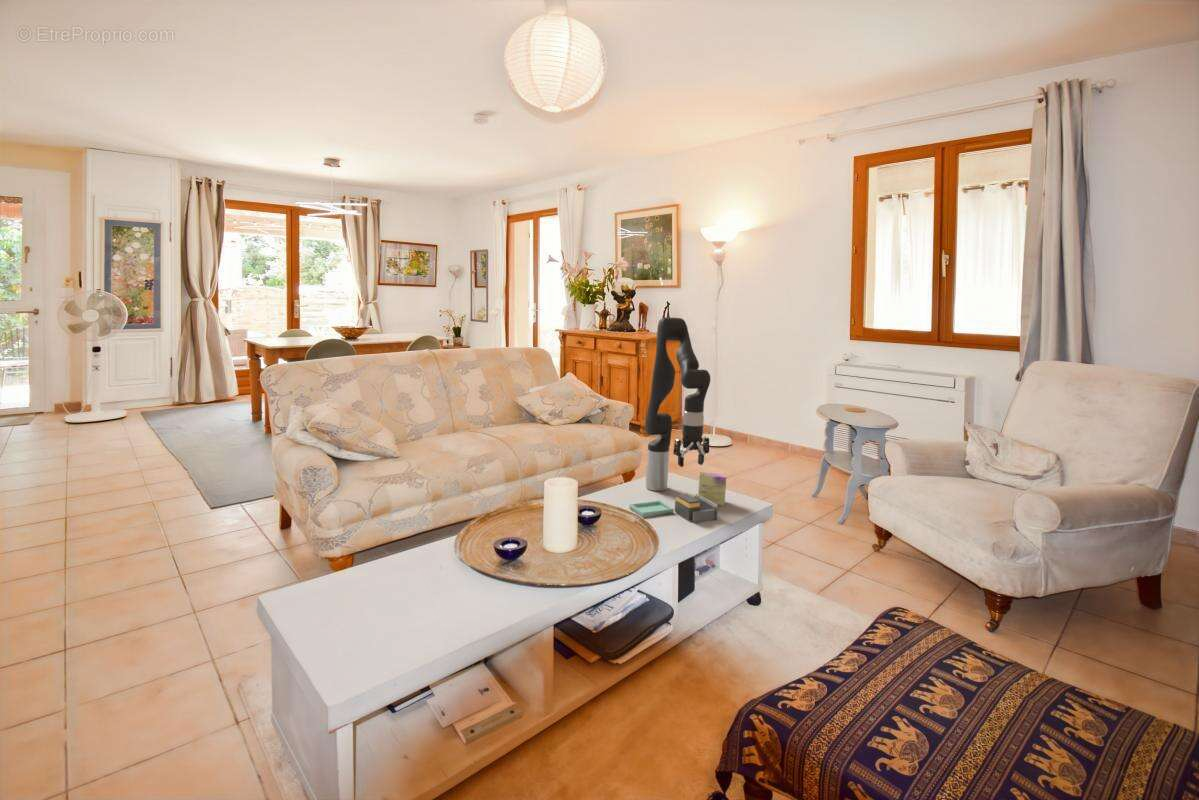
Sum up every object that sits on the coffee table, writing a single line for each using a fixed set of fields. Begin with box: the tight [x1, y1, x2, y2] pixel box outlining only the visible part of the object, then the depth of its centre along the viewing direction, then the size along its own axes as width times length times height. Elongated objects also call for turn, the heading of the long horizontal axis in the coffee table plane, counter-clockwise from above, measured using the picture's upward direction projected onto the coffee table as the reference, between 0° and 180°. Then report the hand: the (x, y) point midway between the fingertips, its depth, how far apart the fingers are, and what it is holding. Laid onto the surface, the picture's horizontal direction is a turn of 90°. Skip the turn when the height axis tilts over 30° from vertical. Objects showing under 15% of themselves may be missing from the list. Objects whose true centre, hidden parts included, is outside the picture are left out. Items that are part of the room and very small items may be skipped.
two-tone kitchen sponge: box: [675, 493, 700, 522], centre depth 225 cm, size 9×5×8 cm, turn 24°
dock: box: [674, 493, 719, 524], centre depth 226 cm, size 14×10×6 cm
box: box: [697, 471, 727, 506], centre depth 242 cm, size 10×6×12 cm, turn 84°
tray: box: [629, 499, 675, 518], centre depth 230 cm, size 11×14×2 cm
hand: (690, 465), depth 222 cm, fingers open, 8 cm apart
